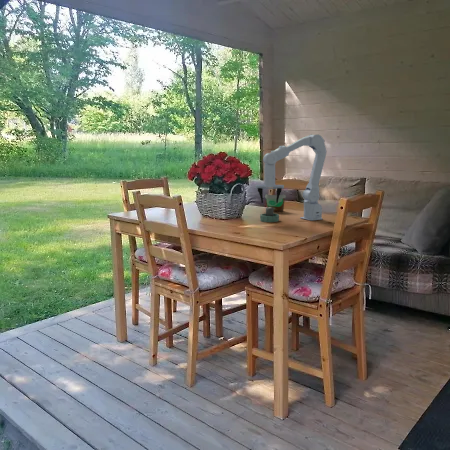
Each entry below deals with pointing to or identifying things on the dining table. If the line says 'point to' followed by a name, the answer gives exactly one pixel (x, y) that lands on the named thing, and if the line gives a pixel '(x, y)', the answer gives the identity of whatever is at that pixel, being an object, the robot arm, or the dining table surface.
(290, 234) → the dining table surface
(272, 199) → the food container
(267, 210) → the cell
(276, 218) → the green short cylinder
